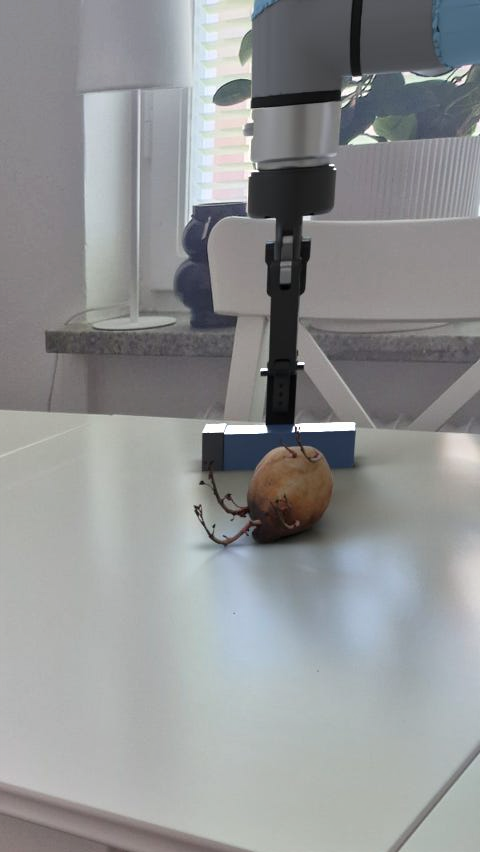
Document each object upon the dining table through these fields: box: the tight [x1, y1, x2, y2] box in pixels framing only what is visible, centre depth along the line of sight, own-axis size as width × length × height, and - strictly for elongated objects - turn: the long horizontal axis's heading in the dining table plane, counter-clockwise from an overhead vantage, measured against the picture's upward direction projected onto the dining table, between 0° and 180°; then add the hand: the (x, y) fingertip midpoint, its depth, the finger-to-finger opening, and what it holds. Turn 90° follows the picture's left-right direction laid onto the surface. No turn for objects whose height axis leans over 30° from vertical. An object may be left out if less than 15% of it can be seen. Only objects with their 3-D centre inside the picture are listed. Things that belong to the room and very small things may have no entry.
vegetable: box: [192, 423, 334, 548], centre depth 93 cm, size 16×11×10 cm
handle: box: [201, 421, 357, 472], centre depth 111 cm, size 14×4×4 cm, turn 76°
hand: (278, 445), depth 113 cm, fingers closed
